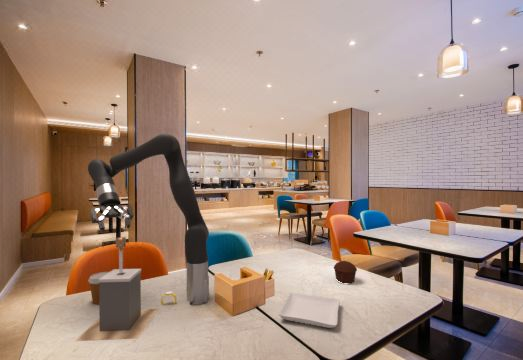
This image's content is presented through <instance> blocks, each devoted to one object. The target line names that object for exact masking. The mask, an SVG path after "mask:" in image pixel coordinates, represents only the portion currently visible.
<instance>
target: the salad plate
mask: <svg viewBox="0 0 523 360" xmlns="http://www.w3.org/2000/svg"><path fill="white" fill-rule="evenodd" d="M340 302H341V301H340V299H337V298H330V297H323V296H319V295H311V294H304V293H297V292H291V293H289V294H288V297H287V298H286V300H285V302H284V304H283V305H282V307H281V309H280V310H279V312H278V316H279V317H280V318H281V319H283V320H287V321H291V322H293V321H295V322H294V323H298V322H300V323H299V324H303V323H305V324H304V325H309V324H311V325H310V326H315V325H316V326H317V327H321V326H322V327H323V328H328V329H329V328H330V329H333V328H335V327H337V326H338V322H339V308H340ZM316 326H315V327H316Z"/></svg>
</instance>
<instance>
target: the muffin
mask: <svg viewBox="0 0 523 360" xmlns="http://www.w3.org/2000/svg"><path fill="white" fill-rule="evenodd" d="M333 269H334V274H335V280H336V279H337V280H338V281H340V282H342V283H352V282H354V283H355V281H356V273H357V272H358V269H357V267H356V266H355V264H354V263H352V262H350V261H348V260H340V261H338V262H336V263H335V264H334V266H333ZM337 280H336V281H337ZM338 281H337V282H338ZM342 283H341V284H342Z"/></svg>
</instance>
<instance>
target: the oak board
mask: <svg viewBox="0 0 523 360" xmlns="http://www.w3.org/2000/svg"><path fill="white" fill-rule="evenodd" d="M158 310H159V308H145V309H143V308H141V316H140V317H139V319H138V320H137V321H136V322H135V324H134V325H133V326H132V328H131V329H130V330H125V331H100V317H99V318H97V319H96V320H95V321H94V322H93V323H92V324H91V325H90V326H89V327H88V328H87V329H86V330H85V331H84V332H83V333H82V334H81V335H80V336H79V337H77V338H76V339H75V342H81V341H106V340H107V341H108V340H109V341H110V340H111V341H112V340H131V339H132V340H138V339H139V338H140V337H141V335H142V334H143V332H144V331H145V330H146V328H147V326H148V324H150V322H151V321H152V319H153V318H154V316H155V314H156V313H157V312H158Z"/></svg>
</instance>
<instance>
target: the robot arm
mask: <svg viewBox="0 0 523 360" xmlns="http://www.w3.org/2000/svg"><path fill="white" fill-rule="evenodd" d="M160 155H163V156H164V159H165V161H166V163H167V167H168V171H169V173H168V174H169V179H168V180H169V181H168V182H169V187H170V190H171V194H172V196H173V199H174V201H175V204H176V205H177V206H178V209H180V211H181V213H182V214H183V216H184V218H185V221H186V224H187V229H186V230H185V231H186V232H185V234H184V254H185V256H184V257H185V258H186V259H185V260H186V301H187V302H189V304H190V305H193V306H194V305H195V306H196V305H200V304H201V305H202V304H207V303H208V301H209V297H210V287H209V286H210V276H209V255H208V252H207V250H208V249H207V246H208V245H207V241H208V238H209V234H210V233H209V232H210V231H209V229H208V225H207V224H206V221H205V219H204V218H203V215H202V213H201V210H200V207H199V203H198V199H197V196H196V193H195V190H194V186H193V183H192V181H191V178H190V174H189V173H188V170H187V167H186V165H185V162H184V157H183V153H182V148H181V145H180V142H179V140H178V139H177V138H176V137H175V136H174V135H171V134H168V133H160V134H158V135H156V136H155V137H152V138H151V139H149V140H148V141H146V142H144V143H143V144H140V145H138V146H136V147H134V148H132V149H128V150H126V151H124V152H121V153H119V154H117V155H114V156H112V157H110V158H109V164H110V165H109V164H107V162H105V161H104V160H102V159H98V158H95V159H92V160H91V161H89V163H88V166H87V172H88V175H89V176H90V178H91V180H92V181H93V183H94V185H95V190H96V198H97V201H98V206H99V208H96V207H95V206H93V207H91V210H90V217H91V223H92V224H98V229H99V230H100V231H101V232H105V229H106V226H105V222H104V221H105V220H106V219H107V218H108V219H112V218H114V219H115V218H119V219H120V220H123V221H124V224H125V227H126V229H130V227H131V224H132V223H131V222H132V221H131V220H132V219H134V215H135V214H134V212H133V210H132V207H131V205H130V204H127V205H126V206H122V204H121V200H120V196H119V193H118V189H117V188H116V185H115V180H114V179H113V177H115V176H117V175H118V174H119V173H121V172H122V171H125V170H127V169H130V168H132V167H135V166H136V165H138V164H139V163H141V162H143V161H145V160H146V159H148V158H151V157H155V156H160ZM98 213H99V214H101V215H100V216H99V217H97V214H98Z"/></svg>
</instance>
